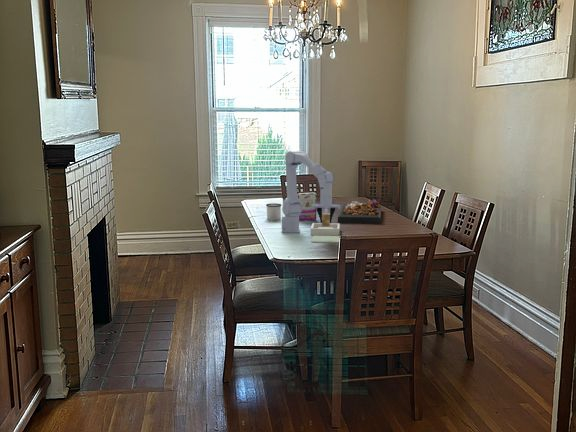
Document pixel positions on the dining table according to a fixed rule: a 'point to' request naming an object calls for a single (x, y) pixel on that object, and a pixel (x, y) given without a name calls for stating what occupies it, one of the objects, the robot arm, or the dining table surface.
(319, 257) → the dining table surface
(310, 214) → the candy bar box
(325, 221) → the wood block
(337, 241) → the pad
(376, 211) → the food platter
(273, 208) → the mug
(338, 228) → the white square tray
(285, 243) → the dining table surface
